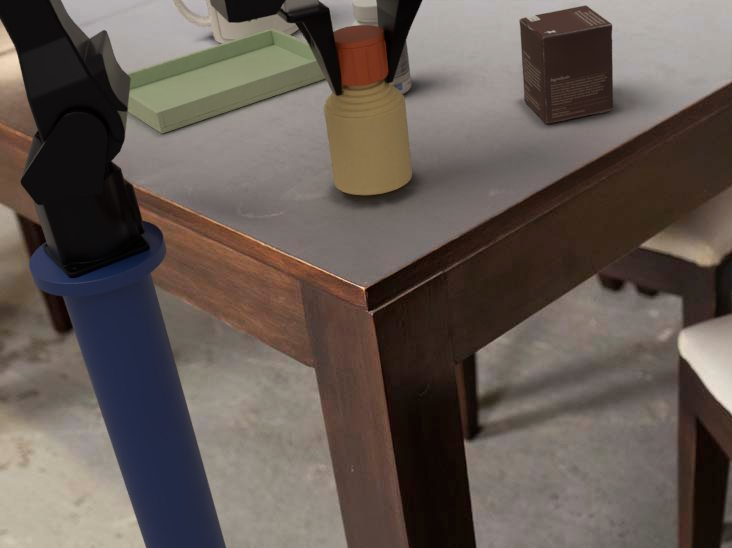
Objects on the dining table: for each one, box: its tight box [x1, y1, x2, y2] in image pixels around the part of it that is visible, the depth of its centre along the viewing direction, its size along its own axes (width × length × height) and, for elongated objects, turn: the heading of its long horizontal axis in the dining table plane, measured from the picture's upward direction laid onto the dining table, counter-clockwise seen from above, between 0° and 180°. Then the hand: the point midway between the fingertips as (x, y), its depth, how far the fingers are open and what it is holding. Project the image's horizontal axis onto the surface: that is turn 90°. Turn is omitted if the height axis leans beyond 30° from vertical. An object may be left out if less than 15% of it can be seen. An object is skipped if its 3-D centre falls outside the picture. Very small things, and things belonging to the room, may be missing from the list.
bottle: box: [323, 79, 413, 196], centre depth 82 cm, size 6×6×10 cm
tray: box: [125, 28, 326, 135], centre depth 108 cm, size 19×13×2 cm
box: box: [518, 5, 614, 124], centre depth 91 cm, size 6×6×7 cm
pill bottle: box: [352, 0, 412, 95], centre depth 100 cm, size 5×5×8 cm
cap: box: [333, 25, 388, 86], centre depth 79 cm, size 4×4×3 cm
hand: (363, 87), depth 80 cm, fingers closed on cap, 4 cm apart
